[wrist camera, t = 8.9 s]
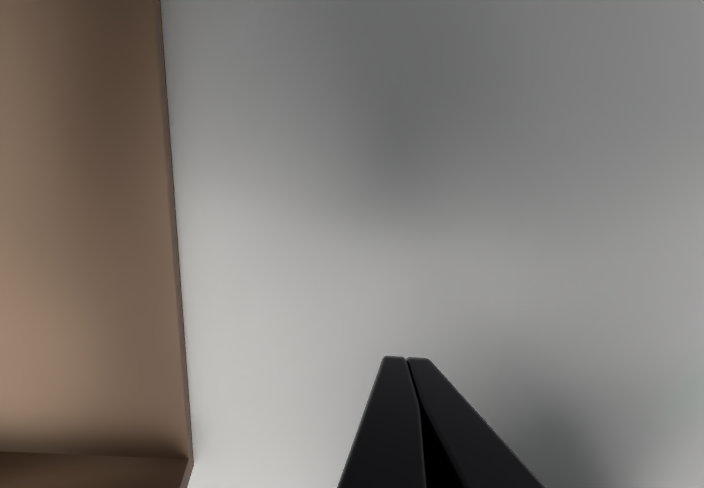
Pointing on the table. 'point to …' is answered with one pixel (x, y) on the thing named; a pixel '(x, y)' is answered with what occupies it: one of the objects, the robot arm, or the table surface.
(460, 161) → the table surface
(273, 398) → the table surface
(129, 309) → the boss board
